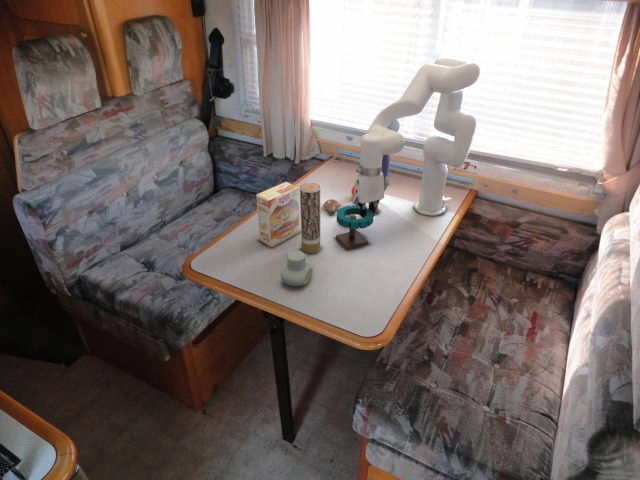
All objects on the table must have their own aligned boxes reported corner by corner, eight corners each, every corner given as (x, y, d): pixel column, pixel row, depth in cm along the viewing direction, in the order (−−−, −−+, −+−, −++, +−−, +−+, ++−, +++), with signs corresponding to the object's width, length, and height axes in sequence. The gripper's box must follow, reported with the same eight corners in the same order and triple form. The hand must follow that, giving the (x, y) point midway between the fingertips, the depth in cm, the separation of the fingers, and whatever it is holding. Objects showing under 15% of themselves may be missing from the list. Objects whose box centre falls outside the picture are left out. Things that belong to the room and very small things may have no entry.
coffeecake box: (271, 247, 163) (268, 200, 152) (259, 240, 167) (254, 194, 157) (300, 232, 172) (299, 186, 162) (287, 225, 176) (285, 180, 166)
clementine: (347, 195, 199) (347, 181, 195) (361, 192, 201) (361, 178, 197) (355, 203, 193) (356, 188, 189) (369, 200, 195) (370, 185, 191)
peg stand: (356, 233, 172) (357, 209, 166) (368, 244, 165) (370, 219, 159) (335, 238, 168) (336, 214, 163) (347, 250, 162) (348, 225, 156)
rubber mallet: (388, 191, 203) (393, 126, 187) (372, 188, 205) (376, 124, 189) (395, 180, 212) (401, 118, 196) (380, 177, 215) (385, 116, 199)
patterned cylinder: (306, 256, 158) (305, 192, 145) (298, 246, 164) (296, 184, 150) (323, 251, 161) (323, 188, 148) (315, 242, 166) (314, 181, 153)
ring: (361, 208, 169) (361, 202, 168) (379, 224, 159) (380, 217, 158) (330, 215, 165) (330, 209, 163) (347, 232, 154) (347, 225, 153)
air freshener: (292, 268, 152) (291, 244, 147) (315, 274, 149) (314, 249, 144) (278, 286, 144) (276, 261, 138) (301, 293, 141) (300, 267, 136)
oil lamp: (317, 213, 187) (333, 219, 183) (316, 205, 184) (332, 211, 180) (330, 202, 192) (345, 208, 188) (329, 195, 190) (345, 200, 186)
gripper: (355, 177, 148) (352, 225, 158) (396, 169, 154) (391, 216, 164) (344, 169, 154) (342, 216, 164) (384, 162, 160) (380, 207, 170)
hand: (367, 215), depth 164 cm, fingers closed on ring, 2 cm apart
